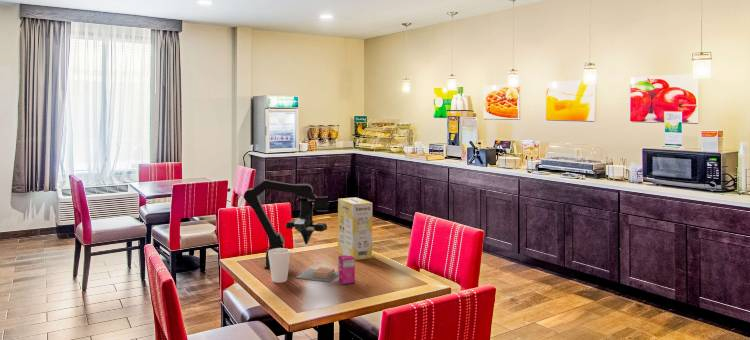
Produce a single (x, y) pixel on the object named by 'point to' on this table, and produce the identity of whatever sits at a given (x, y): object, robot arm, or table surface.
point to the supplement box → (346, 269)
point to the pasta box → (355, 227)
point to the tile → (324, 272)
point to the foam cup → (279, 264)
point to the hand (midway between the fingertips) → (306, 244)
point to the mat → (310, 276)
